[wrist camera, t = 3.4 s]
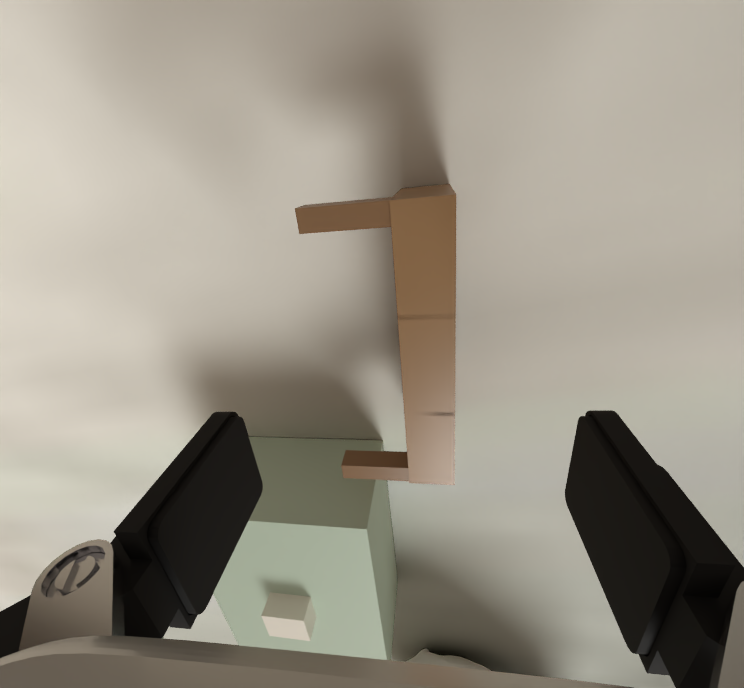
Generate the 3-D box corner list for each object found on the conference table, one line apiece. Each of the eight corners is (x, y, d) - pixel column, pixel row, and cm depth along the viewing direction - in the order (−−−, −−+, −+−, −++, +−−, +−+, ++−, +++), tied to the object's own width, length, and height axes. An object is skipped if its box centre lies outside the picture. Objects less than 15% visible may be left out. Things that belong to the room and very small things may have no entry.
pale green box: (232, 436, 24) (159, 536, 18) (382, 440, 22) (362, 554, 16) (277, 568, 30) (235, 678, 24) (397, 579, 28) (387, 701, 22)
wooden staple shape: (331, 194, 16) (294, 209, 12) (449, 183, 15) (456, 194, 11) (361, 413, 21) (342, 479, 17) (449, 414, 20) (454, 484, 16)
